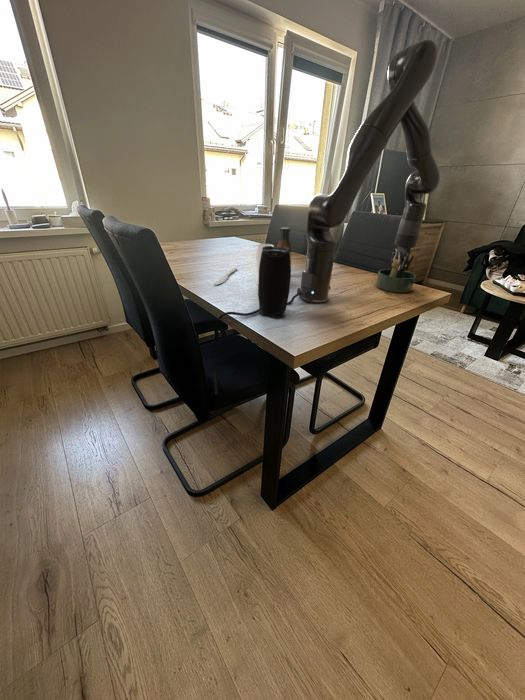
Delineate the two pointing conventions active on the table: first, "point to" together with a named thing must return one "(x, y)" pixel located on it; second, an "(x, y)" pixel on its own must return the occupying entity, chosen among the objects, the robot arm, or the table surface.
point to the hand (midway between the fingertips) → (395, 277)
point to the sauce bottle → (285, 239)
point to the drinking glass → (258, 256)
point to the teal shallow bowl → (395, 281)
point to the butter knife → (225, 276)
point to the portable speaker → (274, 280)
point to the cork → (395, 268)
